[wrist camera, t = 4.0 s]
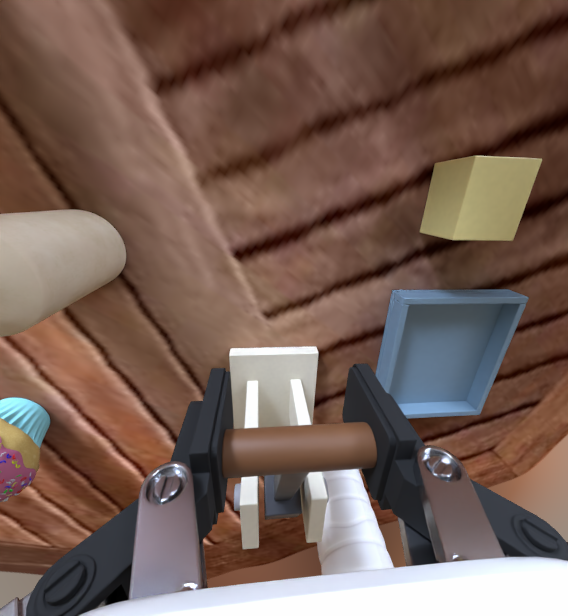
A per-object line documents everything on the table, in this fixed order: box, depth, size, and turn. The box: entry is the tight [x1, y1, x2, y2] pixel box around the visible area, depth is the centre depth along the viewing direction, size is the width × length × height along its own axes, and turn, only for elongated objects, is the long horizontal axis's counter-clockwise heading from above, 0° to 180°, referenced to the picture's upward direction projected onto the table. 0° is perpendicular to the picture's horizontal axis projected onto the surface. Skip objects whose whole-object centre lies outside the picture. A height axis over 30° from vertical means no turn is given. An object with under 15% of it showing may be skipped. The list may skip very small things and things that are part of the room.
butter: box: [420, 156, 542, 241], centre depth 19 cm, size 5×4×4 cm
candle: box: [0, 209, 126, 336], centre depth 15 cm, size 6×6×10 cm
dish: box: [375, 289, 529, 419], centre depth 25 cm, size 13×11×2 cm
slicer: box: [229, 346, 329, 549], centre depth 21 cm, size 10×8×12 cm
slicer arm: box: [222, 422, 377, 520], centre depth 13 cm, size 13×5×2 cm, turn 179°
